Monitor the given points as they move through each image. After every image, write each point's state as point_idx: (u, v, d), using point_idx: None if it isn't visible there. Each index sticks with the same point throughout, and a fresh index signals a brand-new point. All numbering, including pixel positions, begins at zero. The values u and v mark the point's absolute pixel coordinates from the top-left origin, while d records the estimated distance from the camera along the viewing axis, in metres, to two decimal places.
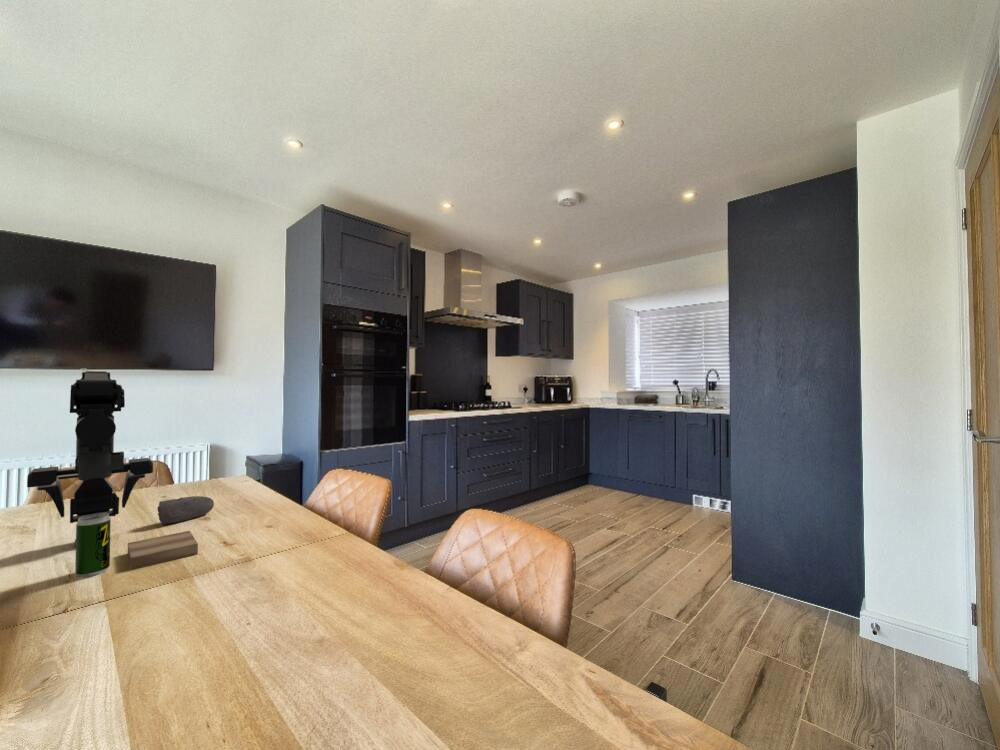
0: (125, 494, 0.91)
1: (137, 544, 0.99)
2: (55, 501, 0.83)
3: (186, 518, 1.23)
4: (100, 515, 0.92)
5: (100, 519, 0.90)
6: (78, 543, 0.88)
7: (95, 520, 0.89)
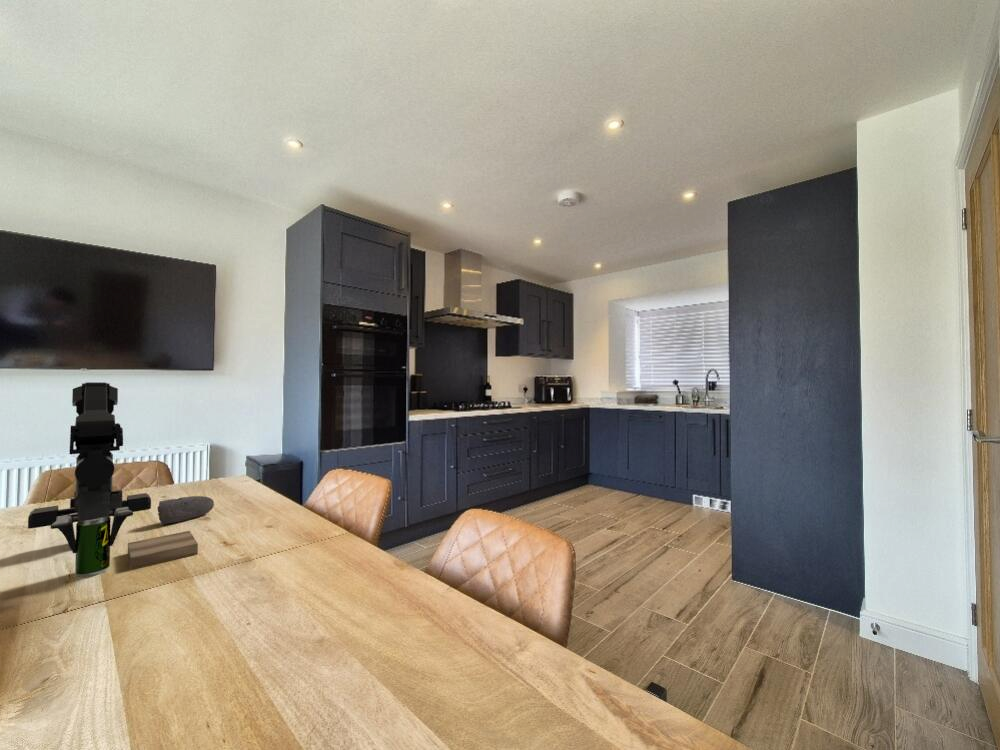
0: (113, 532, 0.92)
1: (137, 544, 0.99)
2: (67, 538, 0.87)
3: (186, 518, 1.23)
4: None
5: (100, 519, 0.90)
6: (78, 543, 0.88)
7: (95, 520, 0.89)
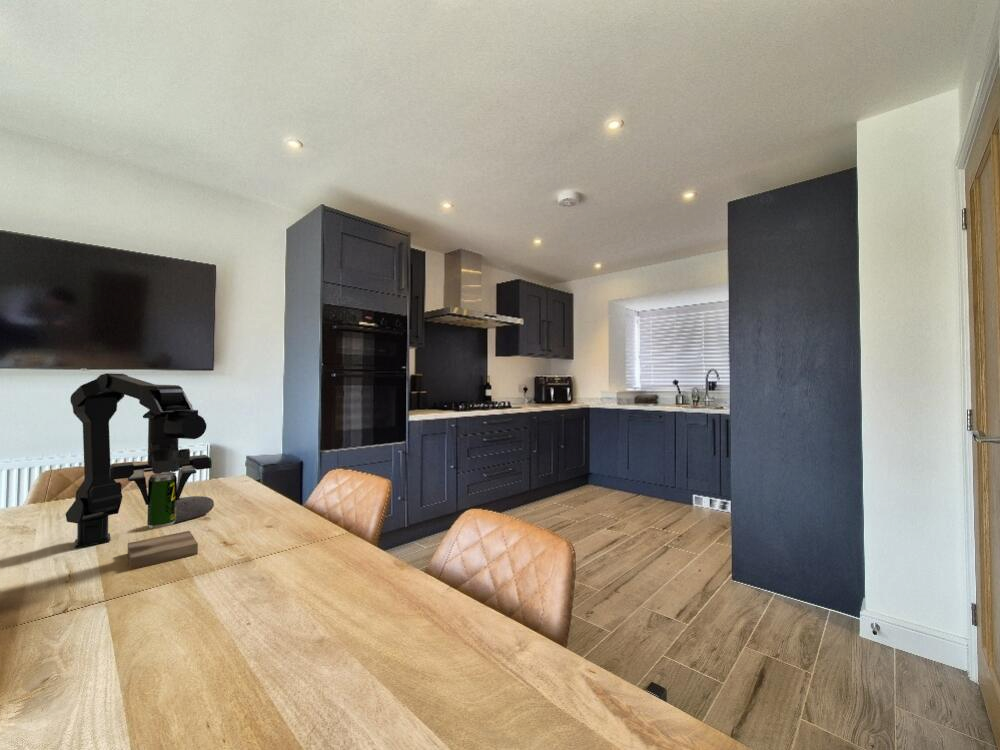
0: (179, 488, 1.01)
1: (137, 544, 0.99)
2: (141, 491, 0.97)
3: (186, 518, 1.23)
4: (167, 474, 1.01)
5: (169, 476, 0.99)
6: (150, 497, 0.97)
7: (165, 477, 0.99)
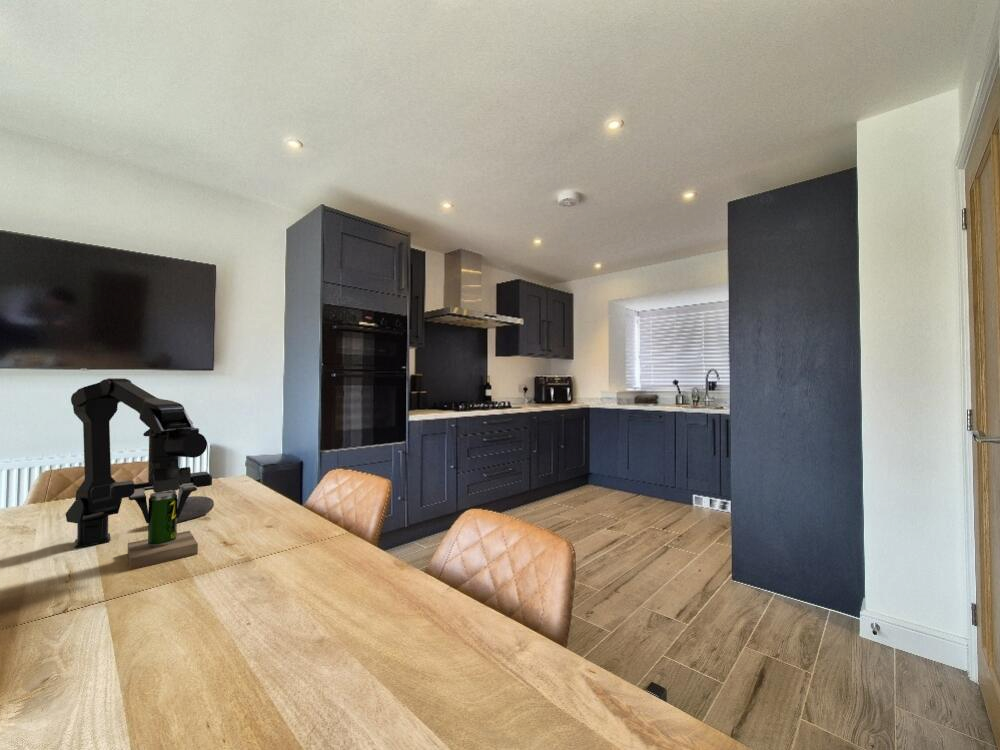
0: (179, 505, 1.02)
1: (137, 544, 0.99)
2: (142, 509, 0.97)
3: (186, 518, 1.23)
4: (168, 492, 1.02)
5: (170, 495, 0.99)
6: (151, 516, 0.98)
7: (166, 496, 0.99)
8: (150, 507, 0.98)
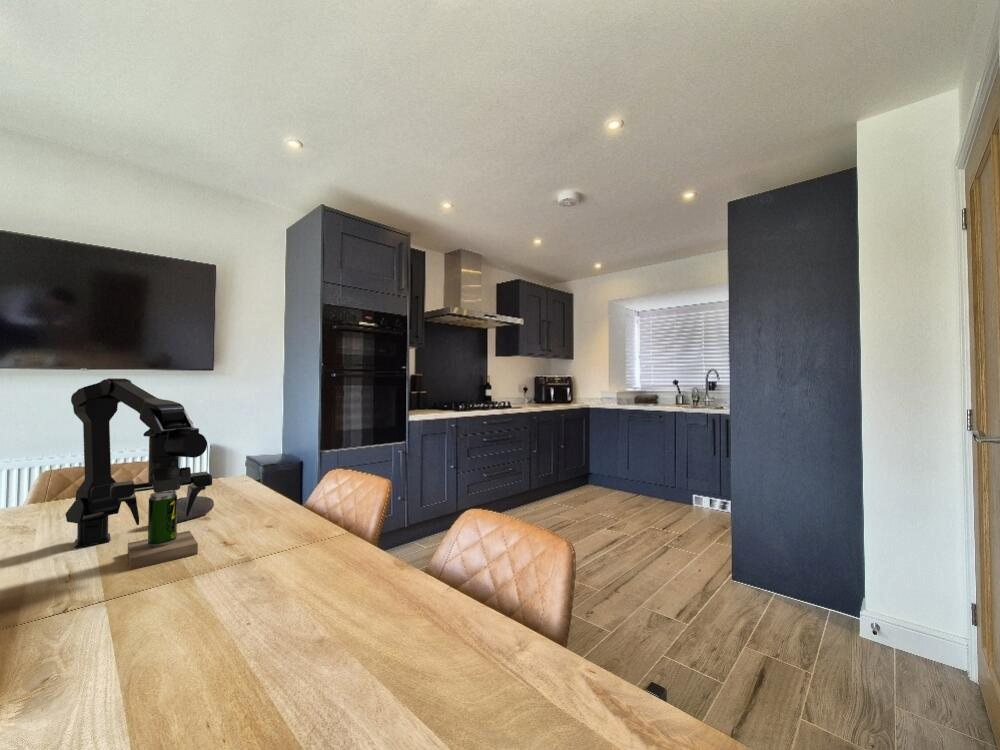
0: (189, 504, 1.03)
1: (137, 544, 0.99)
2: (132, 511, 0.95)
3: (186, 518, 1.23)
4: (168, 492, 1.02)
5: (170, 495, 0.99)
6: (151, 516, 0.98)
7: (166, 496, 0.99)
8: (150, 507, 0.98)
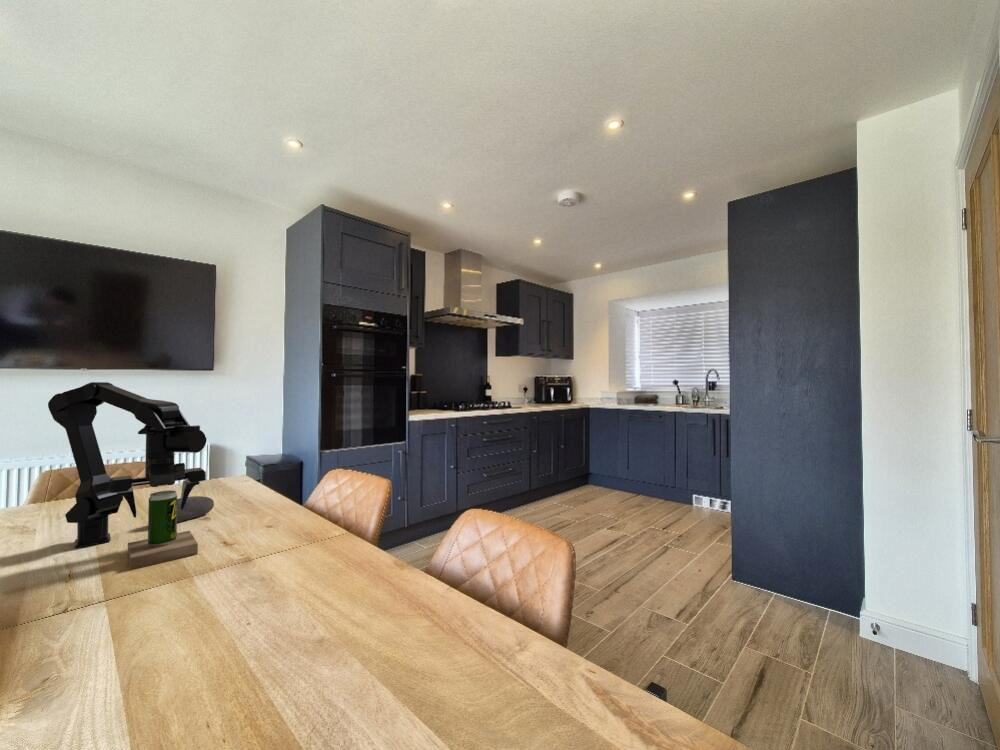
0: (183, 498, 1.08)
1: (137, 544, 0.99)
2: (130, 504, 1.01)
3: (186, 518, 1.23)
4: (168, 492, 1.02)
5: (170, 495, 0.99)
6: (151, 516, 0.98)
7: (166, 496, 0.99)
8: (150, 507, 0.98)
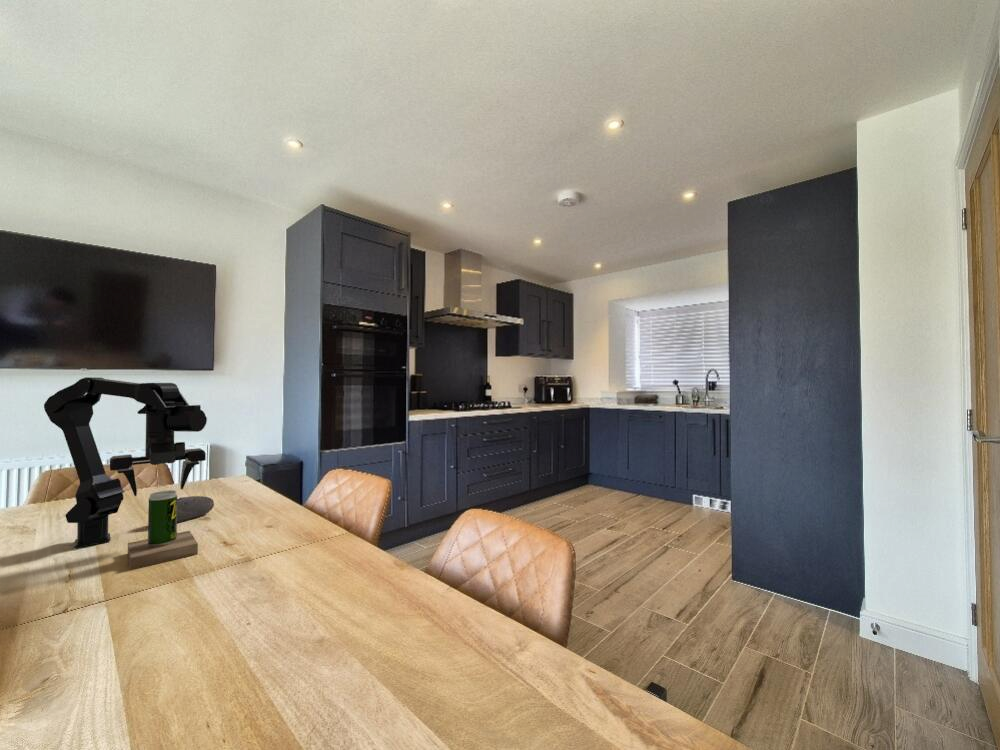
0: (183, 478, 1.09)
1: (137, 544, 0.99)
2: (130, 482, 1.02)
3: (186, 518, 1.23)
4: (168, 492, 1.02)
5: (170, 495, 0.99)
6: (151, 516, 0.98)
7: (166, 496, 0.99)
8: (150, 507, 0.98)
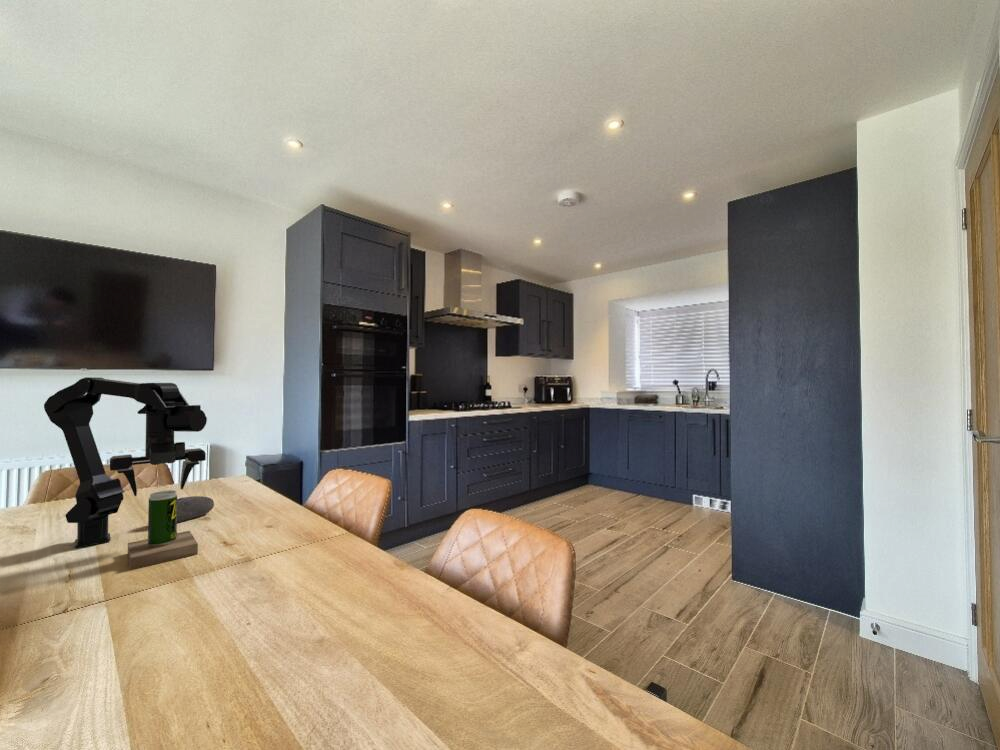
0: (183, 478, 1.09)
1: (137, 544, 0.99)
2: (130, 482, 1.02)
3: (186, 518, 1.23)
4: (168, 492, 1.02)
5: (170, 495, 0.99)
6: (151, 516, 0.98)
7: (166, 496, 0.99)
8: (150, 507, 0.98)
